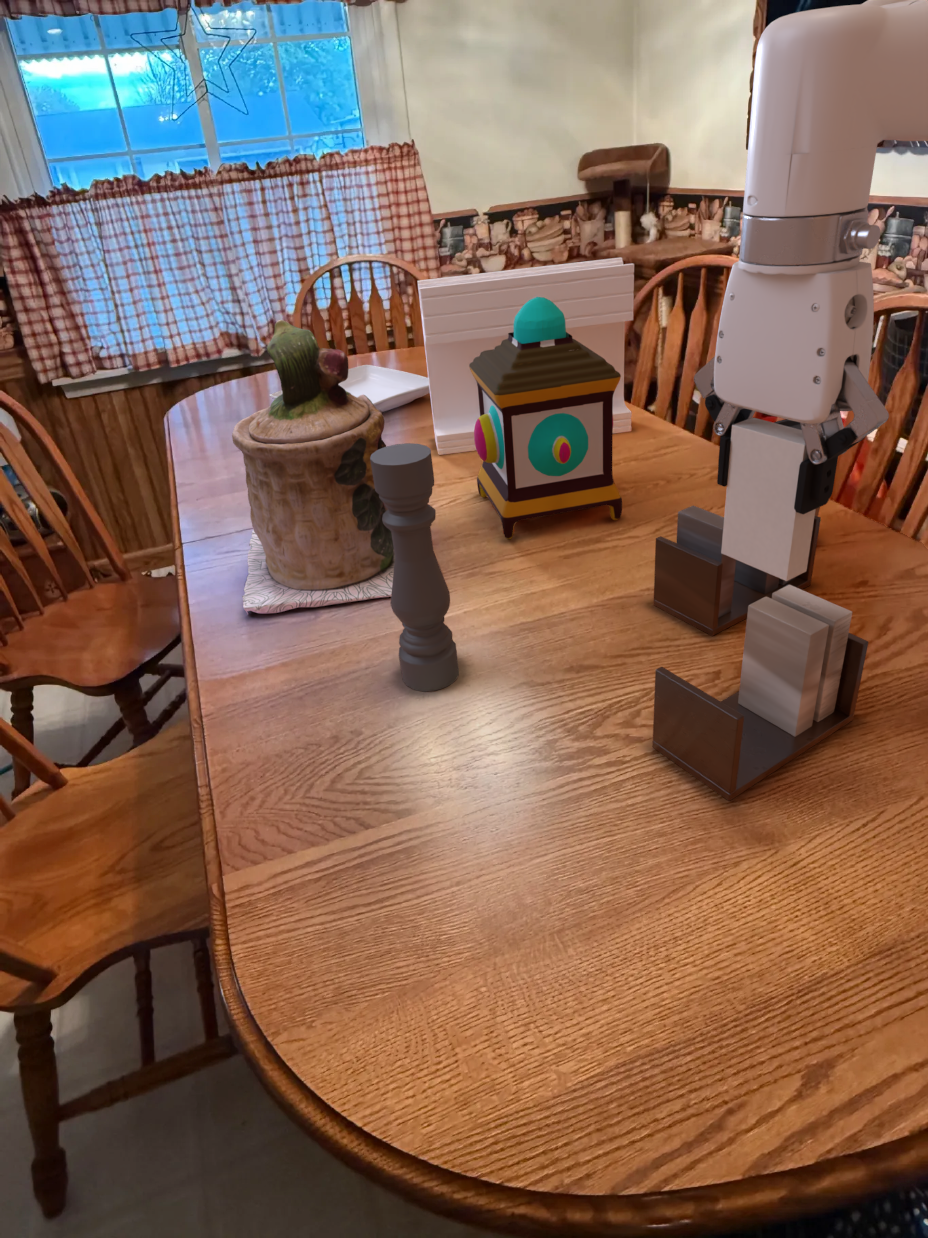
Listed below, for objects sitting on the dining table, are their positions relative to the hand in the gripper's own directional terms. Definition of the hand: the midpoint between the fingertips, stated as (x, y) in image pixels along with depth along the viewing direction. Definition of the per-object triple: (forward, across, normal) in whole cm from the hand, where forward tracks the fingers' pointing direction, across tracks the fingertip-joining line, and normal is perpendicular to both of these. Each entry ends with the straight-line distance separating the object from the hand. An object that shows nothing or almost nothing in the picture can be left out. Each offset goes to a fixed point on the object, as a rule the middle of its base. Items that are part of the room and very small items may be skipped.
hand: (770, 492), depth 63 cm
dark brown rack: (+24, 0, -1) cm, 24 cm away
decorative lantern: (+24, +53, -19) cm, 61 cm away
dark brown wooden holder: (+24, +18, -19) cm, 36 cm away
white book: (+6, 0, 0) cm, 6 cm away
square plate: (+24, +125, -24) cm, 129 cm away
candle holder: (+25, +28, +17) cm, 41 cm away
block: (+24, +80, -37) cm, 91 cm away
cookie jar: (+25, +59, +13) cm, 65 cm away
